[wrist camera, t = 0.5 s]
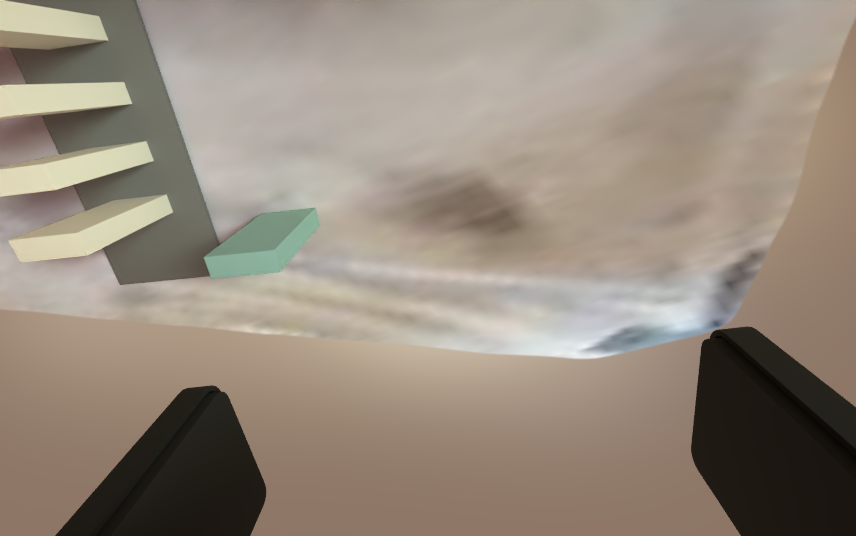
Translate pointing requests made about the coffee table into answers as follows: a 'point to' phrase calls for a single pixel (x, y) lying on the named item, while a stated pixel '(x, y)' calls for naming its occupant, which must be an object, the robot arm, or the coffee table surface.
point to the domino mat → (128, 141)
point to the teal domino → (263, 244)
